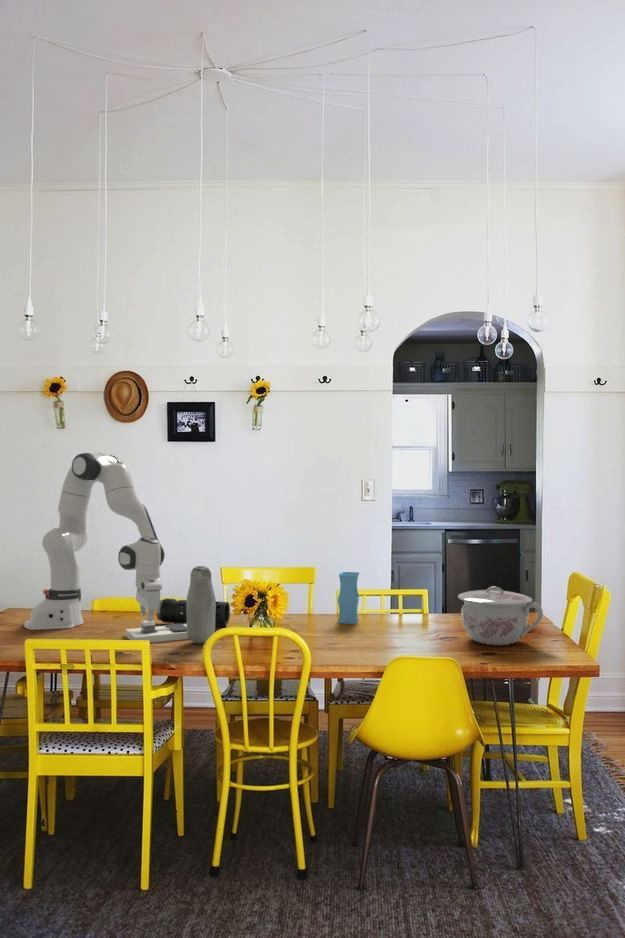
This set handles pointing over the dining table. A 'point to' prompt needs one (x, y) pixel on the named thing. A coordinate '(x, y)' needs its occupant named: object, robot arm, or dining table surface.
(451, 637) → the dining table surface
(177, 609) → the black camera lens
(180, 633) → the outlet board
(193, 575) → the grey bottle
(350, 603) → the vase
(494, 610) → the chamber pot
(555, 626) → the dining table surface
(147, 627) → the charger plug
